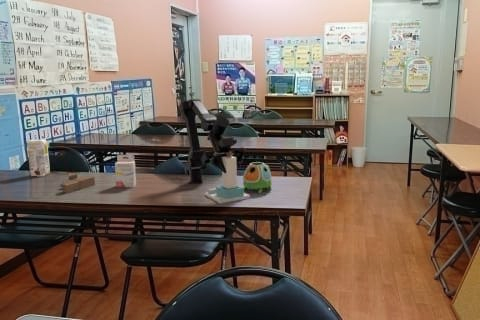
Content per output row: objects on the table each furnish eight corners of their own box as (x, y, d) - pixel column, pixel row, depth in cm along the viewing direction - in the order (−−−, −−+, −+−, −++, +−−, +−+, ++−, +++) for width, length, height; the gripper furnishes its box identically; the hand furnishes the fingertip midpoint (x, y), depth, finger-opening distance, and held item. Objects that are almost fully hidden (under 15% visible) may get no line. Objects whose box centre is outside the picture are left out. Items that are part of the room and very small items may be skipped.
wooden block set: (95, 174, 208) (65, 182, 192) (96, 185, 209) (66, 194, 193) (70, 170, 216) (39, 178, 200) (71, 182, 217) (40, 190, 201)
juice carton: (45, 176, 228) (41, 140, 224) (29, 177, 228) (25, 141, 224) (51, 173, 235) (48, 138, 231) (36, 173, 235) (32, 139, 232)
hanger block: (222, 186, 182) (221, 153, 179) (231, 185, 184) (231, 152, 181) (227, 188, 178) (226, 154, 176) (236, 187, 180) (236, 153, 178)
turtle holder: (280, 185, 202) (280, 160, 199) (262, 194, 186) (262, 167, 184) (256, 182, 208) (256, 158, 205) (237, 191, 192) (237, 165, 190)
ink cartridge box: (115, 187, 202) (113, 156, 199) (118, 185, 207) (116, 154, 204) (134, 187, 202) (132, 156, 200) (136, 184, 207) (134, 154, 204)
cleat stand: (205, 195, 187) (204, 184, 186) (233, 190, 193) (233, 180, 193) (220, 203, 175) (219, 191, 174) (250, 197, 182) (249, 187, 181)
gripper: (203, 131, 176) (216, 163, 168) (243, 128, 185) (257, 158, 177) (196, 148, 184) (208, 179, 177) (234, 144, 193) (247, 173, 186)
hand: (230, 172), depth 179 cm, fingers closed on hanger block, 4 cm apart
